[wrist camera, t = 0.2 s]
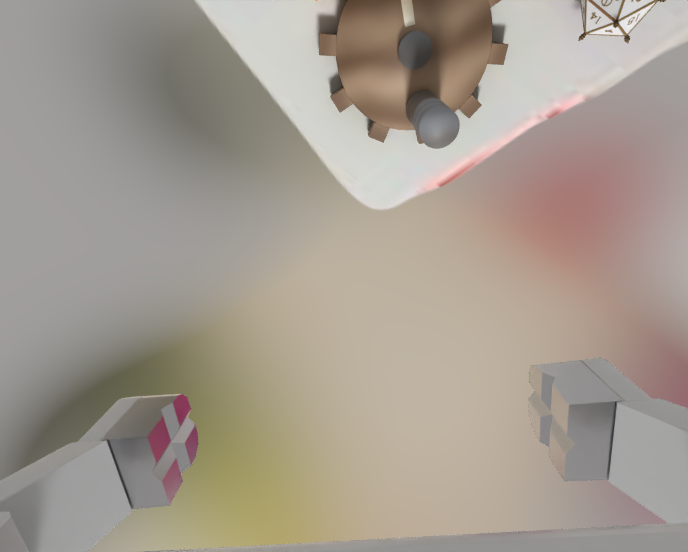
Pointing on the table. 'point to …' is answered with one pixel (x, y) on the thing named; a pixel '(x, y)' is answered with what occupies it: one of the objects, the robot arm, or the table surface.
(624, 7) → the game die
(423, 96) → the sprocket
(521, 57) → the table surface
